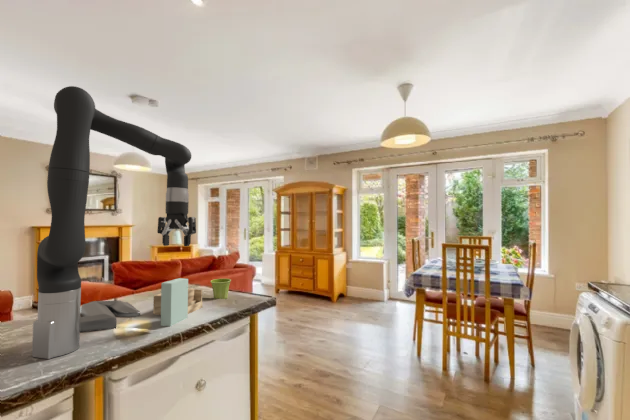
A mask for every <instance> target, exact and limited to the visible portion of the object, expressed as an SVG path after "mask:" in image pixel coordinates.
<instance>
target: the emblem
mask: <svg viewBox="0 0 630 420" xmlns="http://www.w3.org/2000/svg"><path fill="white" fill-rule="evenodd" d="M117 317H120V318H121V317H122V318H139V317H141V311H140V310H139V309H137V308H136V307H135V306H134V305H133V304H131V303H130V302H128V301H122V300H95V301H89V302H88V303H83V304H82V305H81V306H80V333H83V332H84V333H85V332H95V331H104V330H114V328H115V329H117Z"/></svg>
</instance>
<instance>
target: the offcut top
mask: <svg viewBox="0 0 630 420" xmlns="http://www.w3.org/2000/svg"><path fill="white" fill-rule="evenodd" d="M194 289H195V288H189V287H188V297H190V296H193V295H194Z"/></svg>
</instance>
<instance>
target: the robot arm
mask: <svg viewBox="0 0 630 420" xmlns="http://www.w3.org/2000/svg"><path fill="white" fill-rule="evenodd" d="M54 96H55V97H54V100H53V101H54V102H53V109H54V113H55V114H56V134H55V138H54V142H53V145H52V148H51V152H50V157H49V162H48V167H47V179H46V181H47V182H46V185H47V187H46V189H47V195H48V201H49V206H50V209H51V210H50V213H51V220H50V226H49V227H50V228H49V233H48V235H47V236H46V237H43V239H42V240H41V241H40V242H39V244H38V247H37V252H36V253H37V254H36V280H37V284H38V297H37V298H38V299H37V301H38V302H37V319H36V320H34V321H33V324H32V346H31V348H32V351H31V357H33V358H40V359H46V360H47V359H48V360H50V359H52V358H56V357H61V356H64V355H67V354H71V353H72V352H75V351H76V350H78V349H79V348H80V337H81V336H80V334H81V332H80V316H81V299H82V278H81V276H80V272H79V262H80V261H81V259H82V258H83V257H84V256H85V253H86V246H87V245H86V244H87V243H86V231H85V214H86V208H87V200H88V190H89V183H90V167H91V166H90V165H91V156H90V155H91V152H90V150H91V149H90V135H91V131H94V132H97V133H100V134H103V135H105V136H108V137H110V138H113V139H115V140H118V141H121V142H122V143H125V144H127V145H130V146H131V147H135V148H136V149H139V150H141V151H142V152H145V153H147V154H149V155H152V156H161V157H162V158H164V163H165V171H166V177H167V178H166V192H165V214H166V217H165V216H159V217H158V219H157V230H156V231H157V233H158V234H160V235H162V241H161V242H162V245H163V246H164V247H165V246H166V247H167V246H170V234H171V232H172V231H173V230H180V231H181V232H182V233H183V234H184V236H183V246H184V247H189V246H190V245H191V239H192V235H194V234H196V233H197V222H196V219H197V218H196V217H195V216H188V214H189V199H190V198H189V197H190V195H189V177H188V174H187V173H186V169H185V168H186V167H185V165H187V164H188V163H189V162H190V161H191V159H192V152H191V150H190V149H189V148H188V147H186V146H185V145H184V144H181V143H180V142H177V141H174V140H171V139H167V138H165V137H162V136H160V135H159V134H156V133H154V132H152V131H150V130H148V129H146V128H143V127H141V126H139V125H136V124H133V123H129V122H125V121H122V120H119V119H116V118H114V117H112V116H109V115H107V114H105V113H103V112H102V111H100V110H98V109H97V108H96V104H95V101H94V99H93V97H92V95H91V94H90V93H89V92H87V91H86V90H85V89H83V88H82V87H79V86H74V85H69V86H65V87H63V88H62V89H60V90H58V91H57V93H56V95H54ZM187 223H188V224H187Z"/></svg>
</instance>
